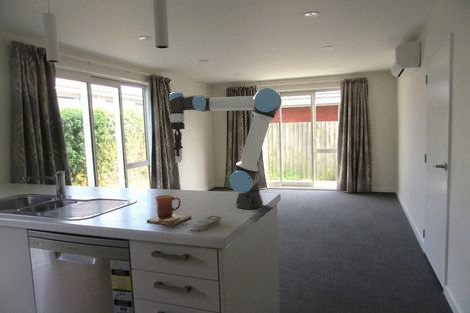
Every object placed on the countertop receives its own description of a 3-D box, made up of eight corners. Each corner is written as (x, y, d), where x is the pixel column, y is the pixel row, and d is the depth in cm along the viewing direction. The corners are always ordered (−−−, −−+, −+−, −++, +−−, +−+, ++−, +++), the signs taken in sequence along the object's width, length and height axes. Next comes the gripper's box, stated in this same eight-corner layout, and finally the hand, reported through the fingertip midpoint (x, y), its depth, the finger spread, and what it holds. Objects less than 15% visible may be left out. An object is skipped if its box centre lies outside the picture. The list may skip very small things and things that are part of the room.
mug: (154, 220, 156) (153, 198, 155) (158, 215, 165) (157, 195, 164) (179, 219, 156) (178, 197, 155) (182, 214, 165) (181, 194, 164)
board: (191, 218, 163) (191, 215, 163) (174, 225, 151) (174, 222, 151) (165, 215, 170) (164, 212, 170) (146, 222, 158) (146, 219, 158)
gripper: (172, 122, 190) (173, 159, 192) (168, 121, 165) (170, 163, 167) (185, 122, 191) (186, 159, 192) (183, 121, 166) (185, 163, 168)
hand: (179, 161), depth 180 cm, fingers open, 13 cm apart
